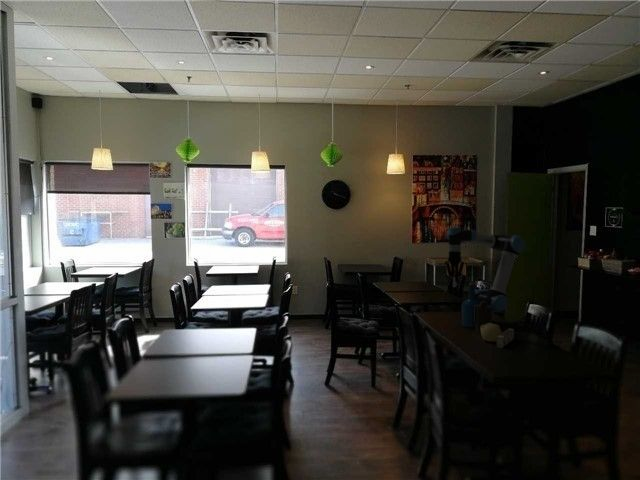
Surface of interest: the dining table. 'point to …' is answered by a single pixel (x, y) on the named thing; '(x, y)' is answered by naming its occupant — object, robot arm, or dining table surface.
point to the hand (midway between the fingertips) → (454, 286)
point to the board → (505, 338)
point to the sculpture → (490, 332)
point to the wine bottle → (469, 308)
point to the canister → (481, 315)
